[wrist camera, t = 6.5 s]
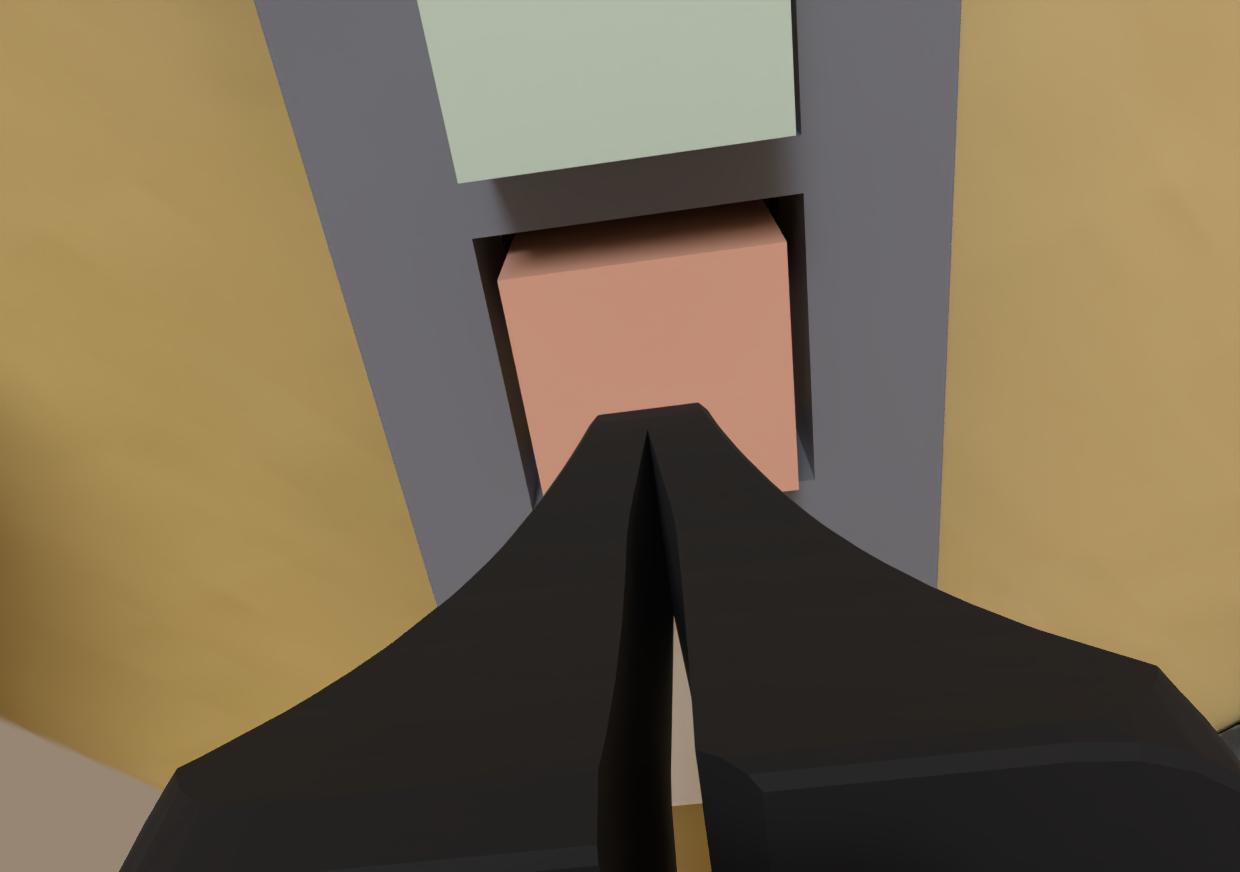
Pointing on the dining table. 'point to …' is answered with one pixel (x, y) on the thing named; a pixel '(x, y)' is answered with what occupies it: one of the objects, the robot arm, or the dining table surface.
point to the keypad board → (487, 209)
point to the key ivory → (682, 736)
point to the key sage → (605, 79)
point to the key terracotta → (655, 328)
